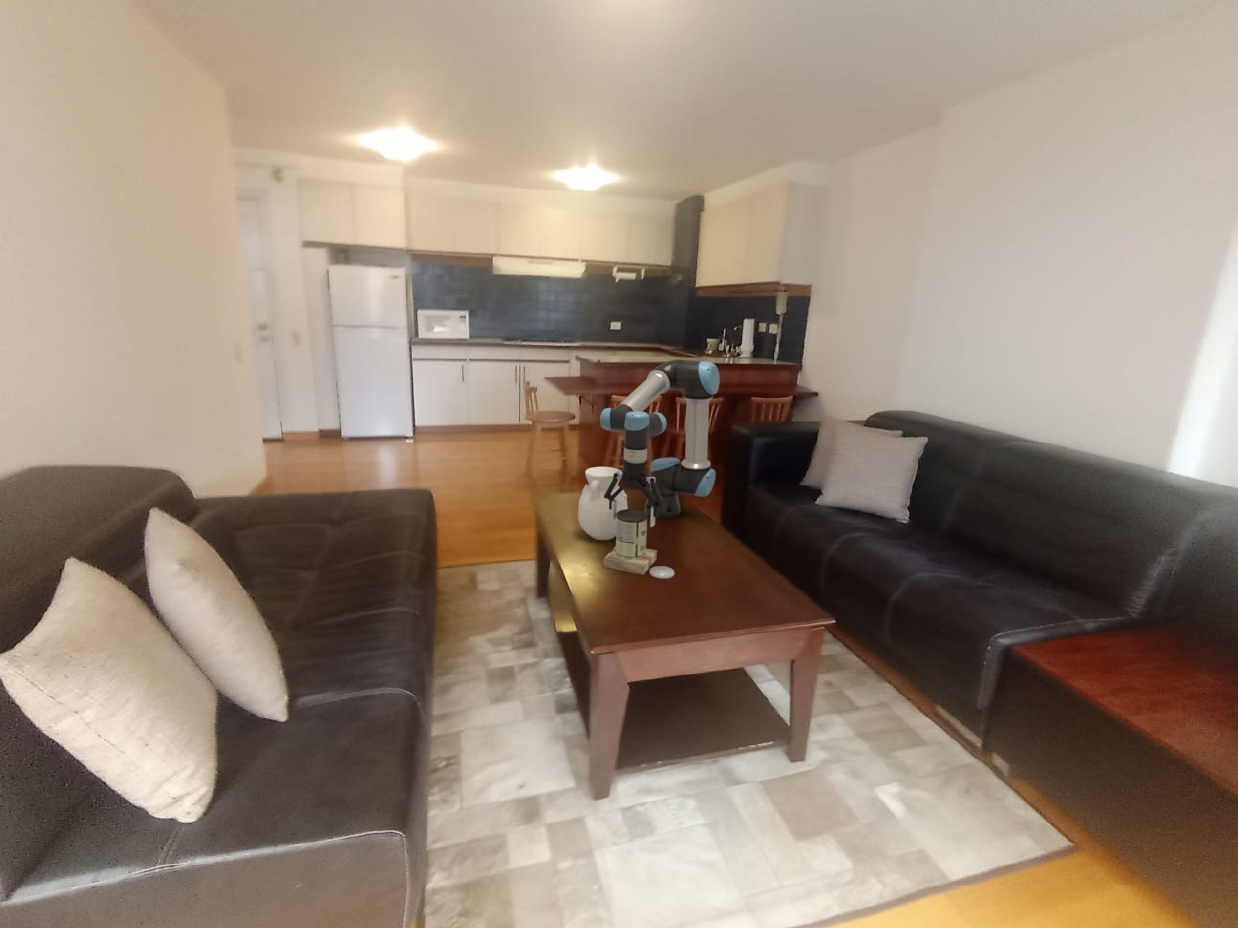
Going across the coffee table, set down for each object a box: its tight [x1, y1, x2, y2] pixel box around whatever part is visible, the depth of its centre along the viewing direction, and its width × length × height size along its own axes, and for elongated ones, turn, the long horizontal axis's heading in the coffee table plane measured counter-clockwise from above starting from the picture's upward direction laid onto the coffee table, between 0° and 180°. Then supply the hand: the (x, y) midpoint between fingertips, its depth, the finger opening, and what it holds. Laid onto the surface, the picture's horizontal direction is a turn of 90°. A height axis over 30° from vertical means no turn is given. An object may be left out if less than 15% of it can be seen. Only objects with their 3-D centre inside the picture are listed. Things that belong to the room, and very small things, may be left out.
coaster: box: [649, 565, 675, 579], centre depth 187 cm, size 8×8×1 cm
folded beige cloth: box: [602, 546, 658, 576], centre depth 194 cm, size 14×14×3 cm
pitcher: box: [577, 466, 629, 541], centre depth 213 cm, size 19×18×25 cm
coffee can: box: [615, 508, 649, 560], centre depth 191 cm, size 10×10×14 cm
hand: (632, 522), depth 191 cm, fingers open, 13 cm apart
